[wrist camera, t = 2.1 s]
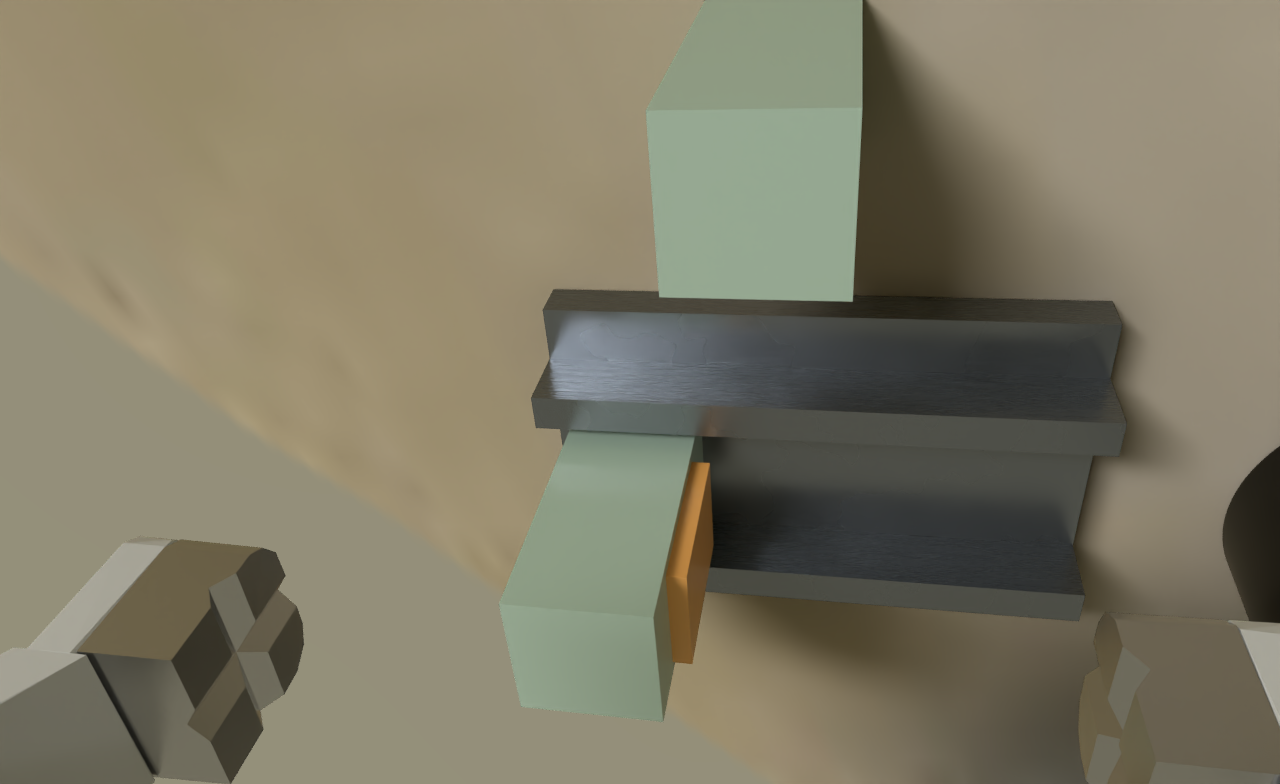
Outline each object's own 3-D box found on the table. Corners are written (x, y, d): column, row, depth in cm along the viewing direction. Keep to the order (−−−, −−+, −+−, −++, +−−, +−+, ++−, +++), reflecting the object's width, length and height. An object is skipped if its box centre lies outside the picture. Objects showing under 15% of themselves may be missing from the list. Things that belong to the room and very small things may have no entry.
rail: (553, 289, 29) (522, 347, 26) (1112, 301, 26) (1140, 367, 23) (589, 547, 34) (566, 616, 32) (1052, 580, 31) (1069, 660, 29)
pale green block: (705, -2, 23) (645, 110, 17) (862, -7, 23) (862, 107, 16) (712, 165, 26) (660, 319, 19) (854, 165, 25) (851, 325, 18)
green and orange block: (591, 499, 31) (521, 706, 25) (579, 405, 29) (498, 604, 23) (721, 508, 30) (683, 723, 24) (718, 411, 28) (675, 618, 22)
